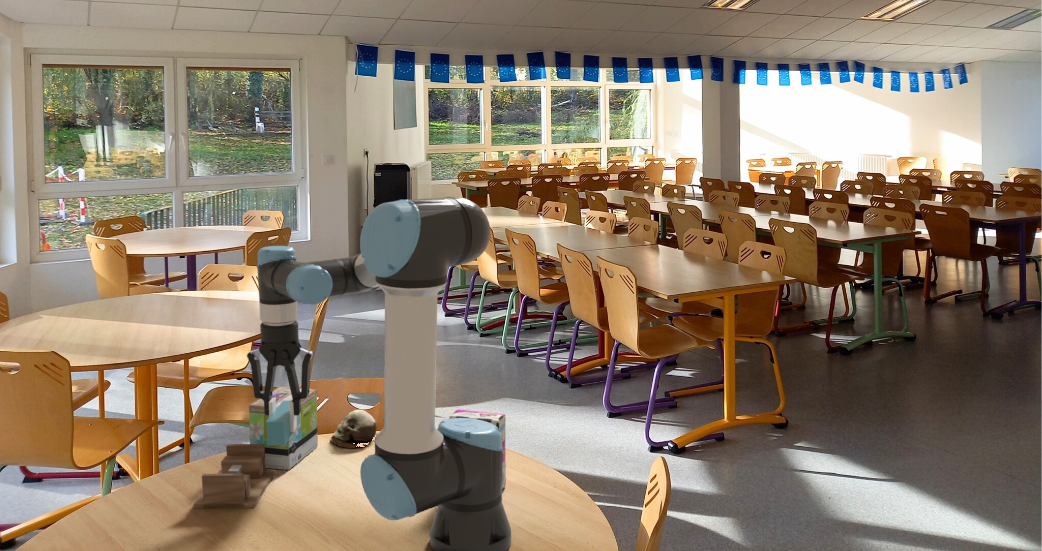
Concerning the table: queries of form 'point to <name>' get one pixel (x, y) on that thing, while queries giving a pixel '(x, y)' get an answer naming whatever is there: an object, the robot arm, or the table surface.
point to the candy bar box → (493, 419)
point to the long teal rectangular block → (280, 425)
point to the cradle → (236, 479)
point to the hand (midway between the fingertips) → (283, 429)
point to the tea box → (299, 441)
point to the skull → (355, 429)
